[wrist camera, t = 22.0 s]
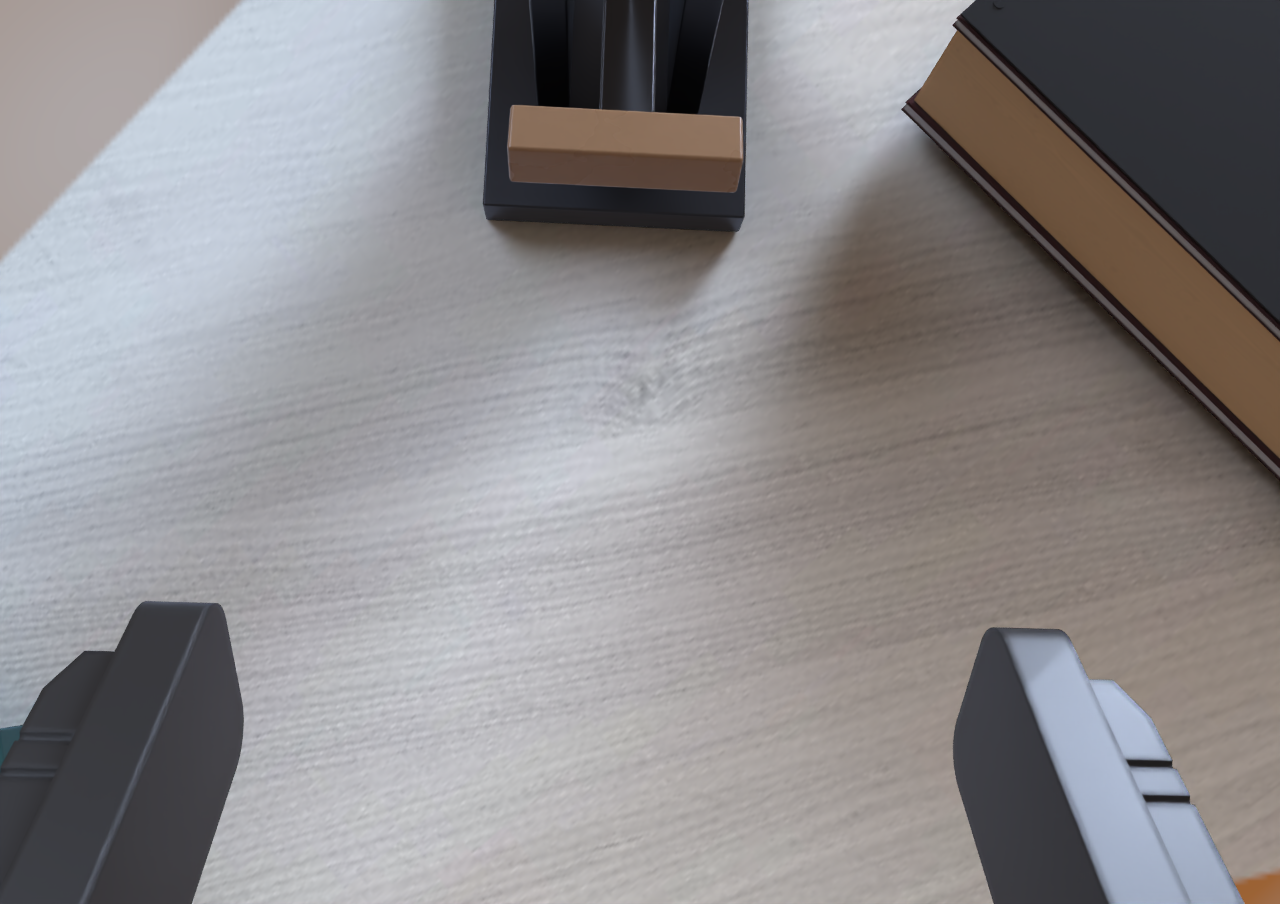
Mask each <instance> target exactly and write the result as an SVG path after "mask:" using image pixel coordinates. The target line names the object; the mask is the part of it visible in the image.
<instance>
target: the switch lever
mask: <svg viewBox="0 0 1280 904" xmlns="http://www.w3.org/2000/svg"><path fill="white" fill-rule="evenodd" d="M656 7H657V0H604V8H603V32H602V57H601V81H600V105H599V109H582V108H563V107H545V106H526V105H512V106H511V108H510V119H509V131H508V144H507V152H508V165H509V178H510V180H511V181H512V182H527V183H547V184H567V185H587V186H607V187H627V188H647V189H668V190H688V191H708V192H728V193H734V192H736V190H737V187H738V182H739V178H740V173H741V169H742V164H743V121H742V118H741V117H734V116H715V115H696V114H677V113H658V112H655V65H656Z"/></svg>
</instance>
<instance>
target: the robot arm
mask: <svg viewBox="0 0 1280 904" xmlns="http://www.w3.org/2000/svg"><path fill="white" fill-rule="evenodd" d="M243 724H244V717H243V704H242V698H241V693H240V688H239V683H238V678H237V673H236V668H235V662H234V657H233V652H232V647H231V642H230V637H229V632H228V626H227V621H226V617H225V613H224V610H223V608H222V607H221V605H219V604H218V603H191V602H156V601H145V602H142V603H141V604H140V605H139V606H138V607H137V608H136V610H135V612H134V613H133V615H132V617H131V619H130V621H129V623H128V625H127V627H126V630H125V632H124V634H123V636H122V638H121V640H120V642H119V644H118V646H117V648H116V650H115V652H111V651H84V652H83V653H82V654H81V655H79V656H78V657H77V658H76V659H75V660H74V661H73V662H72V663H71V664H69V665H68V666H67V667H66V668H65V669H64V670H63V671H62V672H60V673H59V674H58V675H57V676H56V677H55V678H54V679H53V680H52V681H50V682H49V683H48V684H47V685H46V686H45V687H44V688H43V689H42V691H41V693H40V695H39V697H38V698H37V700H36V702H35V704H34V706H33V708H32V710H31V711H30V713H29V715H28V717H27V719H26V721H25V723H24V724H23V726H22V728H21V730H20V737H19V740H18V741H14V743H13V745H12V747H11V748H10V750H9V752H8V754H7V756H6V758H5V760H4V761H3V763H2V765H1V767H0V904H192V901H193V898H194V895H195V892H196V889H197V886H198V883H199V880H200V877H201V874H202V871H203V868H204V865H205V862H206V859H207V856H208V853H209V850H210V847H211V844H212V841H213V838H214V835H215V832H216V829H217V826H218V823H219V820H220V817H221V814H222V811H223V808H224V805H225V801H226V798H227V795H228V792H229V789H230V786H231V783H232V780H233V777H234V774H235V771H236V768H237V765H238V761H239V757H240V752H241V746H242V739H243ZM953 759H954V769H955V775H956V780H957V784H958V788H959V791H960V794H961V798H962V801H963V804H964V807H965V811H966V814H967V817H968V820H969V824H970V827H971V830H972V834H973V837H974V840H975V843H976V847H977V850H978V853H979V857H980V860H981V863H982V866H983V870H984V873H985V876H986V880H987V883H988V886H989V889H990V893H991V896H992V899H993V903H994V904H1244V902H1243V900H1242V898H1241V896H1240V894H1239V892H1238V890H1237V888H1236V886H1235V884H1234V882H1233V880H1232V878H1231V876H1230V874H1229V872H1228V870H1227V868H1226V866H1225V864H1224V862H1223V860H1222V858H1221V856H1220V854H1219V852H1218V850H1217V848H1216V846H1215V844H1214V842H1213V840H1212V838H1211V836H1210V834H1209V832H1208V830H1207V828H1206V826H1205V824H1204V822H1203V820H1202V818H1201V816H1200V814H1199V812H1198V810H1197V808H1196V806H1195V805H1191V804H1190V794H1189V792H1188V790H1187V788H1186V786H1185V784H1184V782H1183V781H1182V779H1181V777H1180V775H1179V773H1178V771H1177V769H1173V767H1172V759H1171V757H1170V755H1169V753H1168V751H1167V749H1166V747H1165V745H1164V743H1163V741H1162V739H1161V737H1160V735H1159V733H1158V731H1157V729H1156V727H1155V725H1154V723H1153V721H1152V719H1151V717H1150V716H1149V715H1148V714H1147V713H1146V712H1145V711H1144V710H1143V709H1142V708H1141V707H1140V706H1139V705H1138V704H1137V703H1136V702H1135V701H1134V700H1133V699H1131V698H1130V697H1129V696H1128V695H1127V694H1126V693H1125V692H1124V691H1123V690H1122V689H1121V688H1120V687H1119V686H1118V685H1117V684H1116V683H1115V682H1114V681H1113V680H1091V679H1088V677H1087V674H1086V672H1085V670H1084V668H1083V666H1082V664H1081V661H1080V659H1079V657H1078V655H1077V653H1076V651H1075V648H1074V646H1073V644H1072V642H1071V640H1070V638H1069V637H1068V636H1067V634H1066V633H1065V632H1063V631H1062V630H1059V629H1030V628H989V629H988V630H987V631H986V632H985V634H984V636H983V638H982V641H981V643H980V647H979V650H978V653H977V656H976V660H975V663H974V666H973V669H972V673H971V676H970V679H969V682H968V686H967V689H966V692H965V695H964V699H963V702H962V705H961V708H960V712H959V715H958V718H957V721H956V725H955V731H954V740H953Z"/></svg>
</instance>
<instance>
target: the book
mask: <svg viewBox="0 0 1280 904" xmlns="http://www.w3.org/2000/svg"><path fill="white" fill-rule="evenodd" d="M956 19H958V20H957V21H956V22H955V23H954V24H953V26H954V27H955V28H956V29H957V31H956V33H955V35H954V36H953V38H952V40H951V41H950V43H949V44H948V46H947V48H946V49H945V51H944V52H943V54H942V56H941V57H940V59H939V61H938V62H937V64H936V65H935V67H934V69H933V70H932V72H931V74H930V75H929V77H928V78H927V80H926V82H925V83H924V85H923V86H922V88H920V89H919V90H918V91H917V92H916V93H915V94H914V95H913V96H912V97H911V98H910V99H909V100H907V101H906V105H905V106H904V107H903V108H902V109H901V110H902V111H903V112H904V113H905V114H906V115H907V116H908V117H910V118H911V119H912V120H913V121H914V122H915V123H916V124H917V125H918V126H919V127H920V128H921V129H922V130H923V131H924V132H925V133H926V134H927V135H928V136H929V137H930V138H931V139H932V140H933V141H934V142H935V143H936V144H937V145H938V146H939V147H940V148H941V149H942V150H943V151H944V152H945V153H946V154H947V155H948V156H949V157H950V158H951V159H952V160H953V161H954V162H955V163H956V164H957V165H958V166H960V167H961V168H962V169H963V170H964V171H965V172H966V173H967V174H968V175H969V176H970V177H971V178H972V179H973V180H974V181H975V182H976V183H977V184H978V185H979V186H980V187H981V188H982V189H983V190H984V191H985V192H986V193H987V194H988V195H989V196H990V197H991V198H992V199H993V200H994V201H995V202H996V203H997V204H998V205H999V206H1000V207H1001V208H1002V209H1003V210H1004V211H1005V212H1006V213H1007V214H1009V215H1010V216H1011V217H1012V218H1013V219H1014V220H1015V221H1016V222H1017V223H1018V224H1019V225H1020V226H1021V227H1022V228H1023V229H1024V230H1025V231H1026V232H1027V233H1028V234H1029V235H1030V236H1031V237H1032V238H1033V239H1034V240H1035V241H1036V242H1037V243H1038V244H1039V245H1040V246H1041V247H1042V248H1043V249H1044V250H1045V251H1046V252H1047V253H1048V254H1049V255H1050V256H1051V257H1052V258H1053V259H1054V260H1055V261H1056V262H1058V263H1059V264H1060V265H1061V266H1062V267H1063V268H1064V269H1065V270H1066V271H1067V272H1068V273H1069V274H1070V275H1071V276H1072V277H1073V278H1074V279H1075V280H1076V281H1077V282H1078V283H1079V284H1080V285H1081V286H1082V287H1083V288H1084V289H1085V290H1086V291H1087V292H1088V293H1089V294H1090V295H1091V296H1092V297H1093V298H1094V299H1095V300H1096V301H1097V302H1098V303H1099V304H1100V305H1101V306H1102V307H1103V308H1104V309H1105V310H1106V311H1108V312H1109V313H1110V314H1111V315H1112V316H1113V317H1114V318H1115V319H1116V320H1117V321H1118V322H1119V323H1120V324H1121V325H1122V326H1123V327H1124V328H1125V329H1126V330H1127V331H1128V332H1129V333H1130V334H1131V335H1132V336H1133V337H1134V338H1135V339H1136V340H1137V341H1138V342H1139V343H1140V344H1141V345H1142V346H1143V347H1144V348H1145V349H1146V350H1147V351H1148V352H1149V353H1150V354H1151V355H1152V356H1153V357H1154V358H1155V359H1157V360H1158V361H1159V362H1160V363H1161V364H1162V365H1163V366H1164V367H1165V368H1166V369H1167V370H1168V371H1169V372H1170V373H1171V374H1172V375H1173V376H1174V377H1175V378H1176V379H1177V380H1178V381H1179V382H1180V383H1181V384H1182V385H1183V386H1184V387H1185V388H1186V389H1187V390H1188V391H1189V392H1190V393H1191V394H1192V395H1193V396H1194V397H1195V398H1196V399H1197V400H1198V401H1199V402H1200V403H1201V404H1202V405H1203V406H1204V407H1206V408H1207V409H1208V410H1209V411H1210V412H1211V413H1212V414H1213V415H1214V416H1215V417H1216V418H1217V419H1218V420H1219V421H1220V422H1221V423H1222V424H1223V425H1224V426H1225V427H1226V428H1227V429H1228V430H1229V431H1230V432H1231V433H1232V434H1233V435H1234V436H1235V437H1236V438H1237V439H1238V440H1239V441H1240V442H1241V443H1242V444H1243V445H1244V446H1245V447H1246V448H1247V449H1248V450H1249V451H1250V452H1251V453H1252V454H1253V455H1254V456H1256V457H1257V458H1258V459H1259V460H1260V461H1261V462H1262V463H1263V464H1264V465H1265V466H1266V467H1267V468H1268V469H1269V470H1270V471H1271V472H1272V473H1273V474H1274V475H1275V476H1276V477H1277V478H1278V479H1279V480H1280V0H976V1H975V2H973V3H972V4H971V5H970V6H969V7H968V8H967V9H966V10H965V11H964V12H963V13H961V14H960V15H959V16H958V17H957V18H956Z"/></svg>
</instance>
